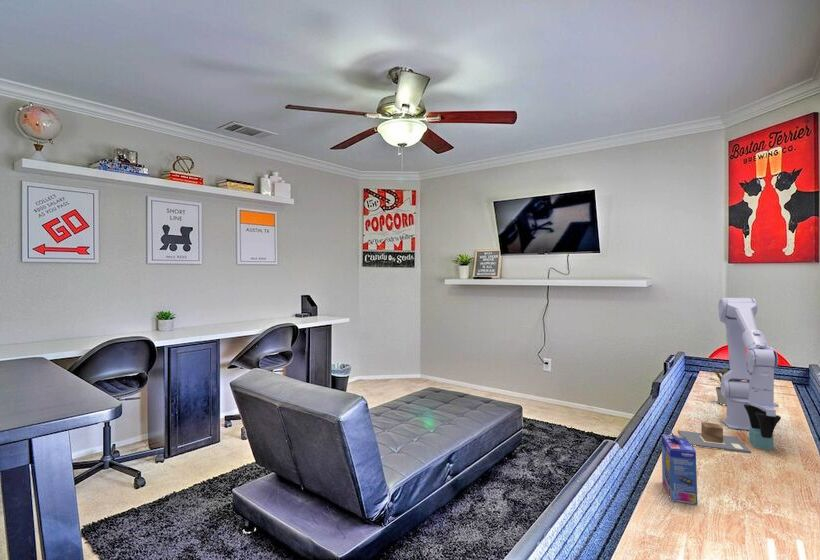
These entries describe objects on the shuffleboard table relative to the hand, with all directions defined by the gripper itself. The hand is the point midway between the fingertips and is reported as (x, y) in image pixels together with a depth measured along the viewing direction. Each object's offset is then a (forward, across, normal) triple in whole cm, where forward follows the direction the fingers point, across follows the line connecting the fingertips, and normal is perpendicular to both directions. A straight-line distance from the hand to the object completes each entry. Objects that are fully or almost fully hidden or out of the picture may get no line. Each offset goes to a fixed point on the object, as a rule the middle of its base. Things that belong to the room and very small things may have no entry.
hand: (761, 433), depth 130 cm
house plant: (+4, +46, -3) cm, 46 cm away
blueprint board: (+4, -2, +13) cm, 14 cm away
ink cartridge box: (+4, -42, +30) cm, 52 cm away
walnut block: (+3, -2, +13) cm, 13 cm away
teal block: (+4, 0, 0) cm, 4 cm away
